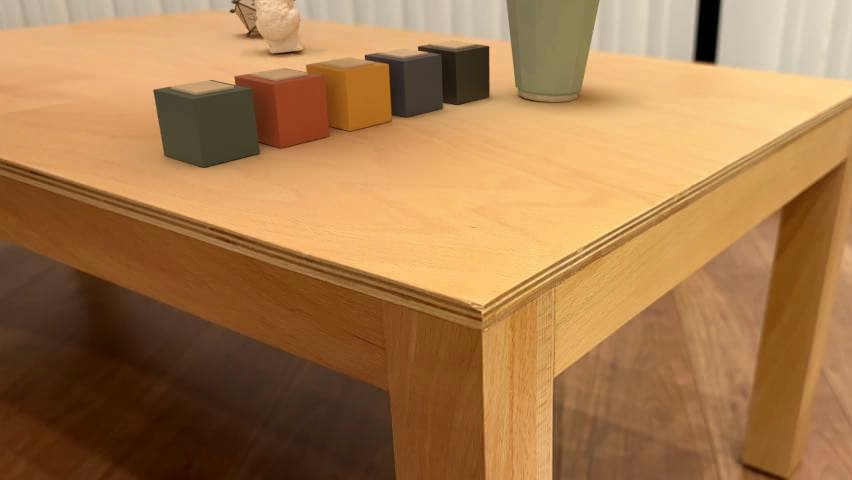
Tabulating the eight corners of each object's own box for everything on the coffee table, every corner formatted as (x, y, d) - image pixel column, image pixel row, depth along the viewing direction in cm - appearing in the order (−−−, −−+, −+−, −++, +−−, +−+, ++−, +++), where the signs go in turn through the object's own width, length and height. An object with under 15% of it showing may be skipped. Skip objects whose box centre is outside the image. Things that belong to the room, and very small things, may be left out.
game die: (275, 60, 124) (303, -1, 125) (281, 47, 116) (311, -19, 117) (214, 29, 121) (243, -34, 122) (216, 13, 113) (247, -54, 114)
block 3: (406, 117, 78) (403, 59, 76) (367, 109, 81) (364, 52, 78) (443, 108, 82) (441, 52, 79) (405, 100, 84) (402, 46, 82)
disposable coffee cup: (522, 82, 94) (524, -67, 88) (616, 91, 91) (626, -63, 84) (482, 101, 85) (481, -64, 79) (585, 112, 82) (592, -59, 75)
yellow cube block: (350, 131, 73) (345, 69, 71) (311, 122, 76) (305, 62, 73) (392, 121, 77) (388, 61, 74) (353, 112, 79) (349, 55, 77)
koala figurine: (303, 45, 114) (294, -53, 108) (327, 52, 109) (319, -50, 104) (241, 51, 109) (229, -52, 103) (264, 58, 104) (251, -48, 99)
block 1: (203, 167, 63) (192, 96, 60) (164, 155, 65) (152, 86, 63) (260, 153, 66) (251, 85, 64) (220, 142, 69) (211, 77, 67)
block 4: (457, 104, 83) (456, 49, 81) (419, 97, 86) (417, 44, 84) (489, 96, 87) (489, 43, 85) (452, 90, 89) (451, 38, 87)
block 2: (281, 148, 68) (273, 81, 66) (241, 137, 70) (233, 73, 68) (329, 136, 71) (324, 72, 69) (290, 126, 74) (284, 65, 72)
